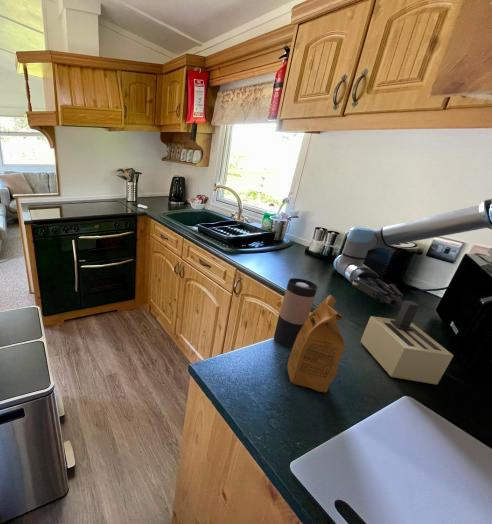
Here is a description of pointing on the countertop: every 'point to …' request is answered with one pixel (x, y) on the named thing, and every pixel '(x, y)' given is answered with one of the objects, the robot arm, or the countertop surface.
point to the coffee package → (317, 349)
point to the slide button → (406, 315)
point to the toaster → (405, 351)
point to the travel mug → (294, 311)
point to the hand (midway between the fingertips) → (404, 308)
